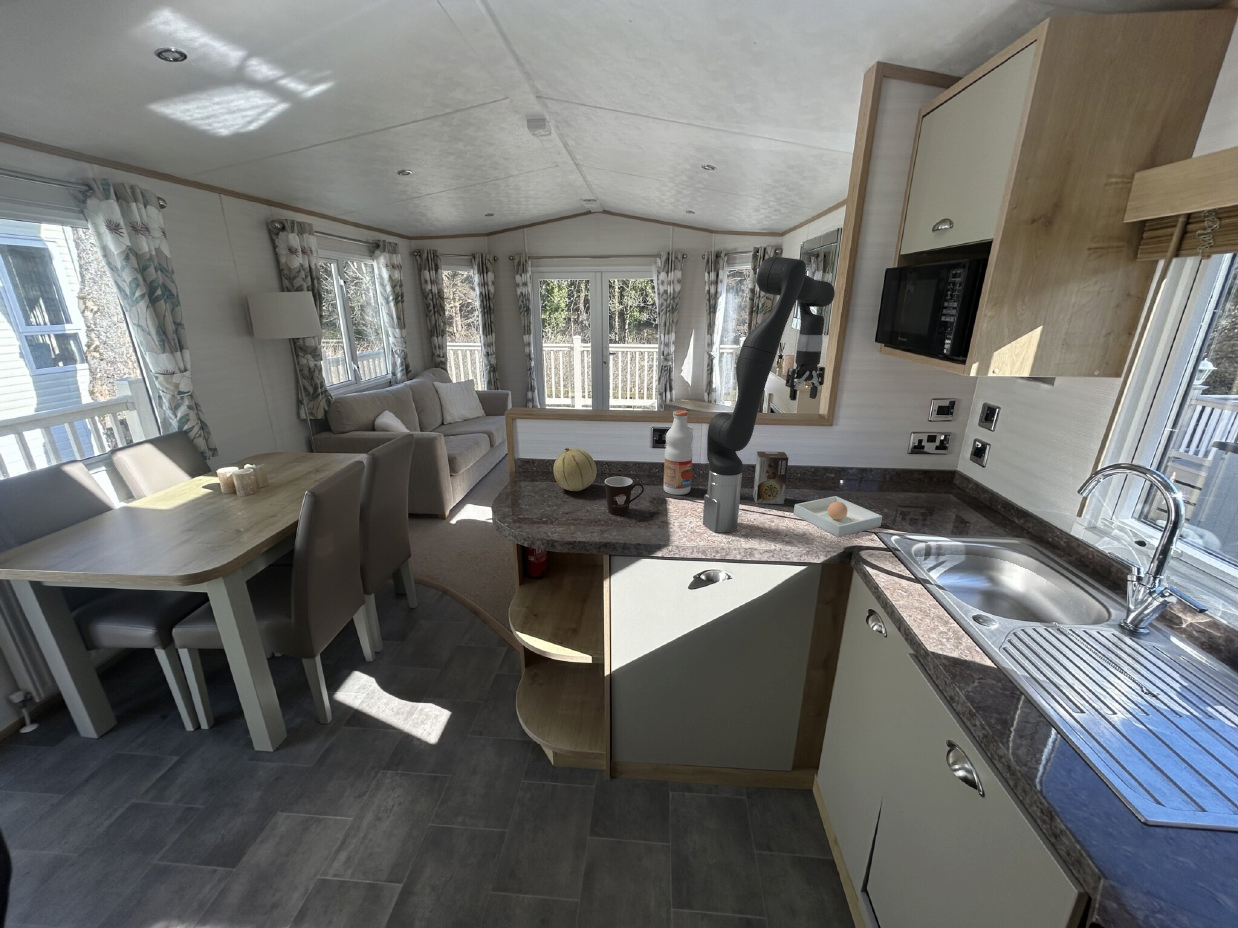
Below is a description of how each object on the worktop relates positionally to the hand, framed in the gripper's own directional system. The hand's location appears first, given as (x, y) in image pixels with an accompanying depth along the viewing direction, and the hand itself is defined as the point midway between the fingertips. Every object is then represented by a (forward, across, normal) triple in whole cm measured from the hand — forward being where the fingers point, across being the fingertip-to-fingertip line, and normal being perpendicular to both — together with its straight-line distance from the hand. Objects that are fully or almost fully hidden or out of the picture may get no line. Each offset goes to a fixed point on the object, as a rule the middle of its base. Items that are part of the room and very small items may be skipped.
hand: (802, 399), depth 164 cm
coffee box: (+32, -14, -4) cm, 35 cm away
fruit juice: (+32, -37, +16) cm, 52 cm away
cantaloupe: (+32, -69, +31) cm, 82 cm away
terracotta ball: (+29, -6, -25) cm, 39 cm away
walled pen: (+32, -6, -25) cm, 41 cm away
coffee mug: (+32, -62, +7) cm, 70 cm away
